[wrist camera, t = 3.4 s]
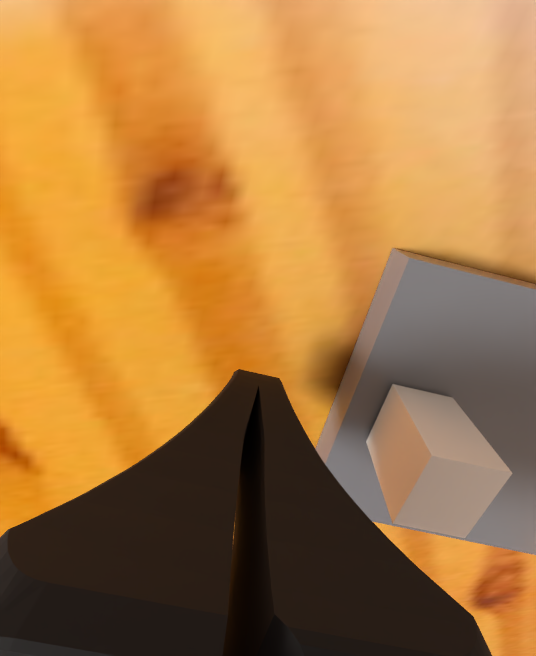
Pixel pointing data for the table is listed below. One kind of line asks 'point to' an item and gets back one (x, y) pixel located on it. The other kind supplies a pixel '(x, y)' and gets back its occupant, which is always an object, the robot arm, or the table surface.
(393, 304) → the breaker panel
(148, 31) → the table surface
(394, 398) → the block
